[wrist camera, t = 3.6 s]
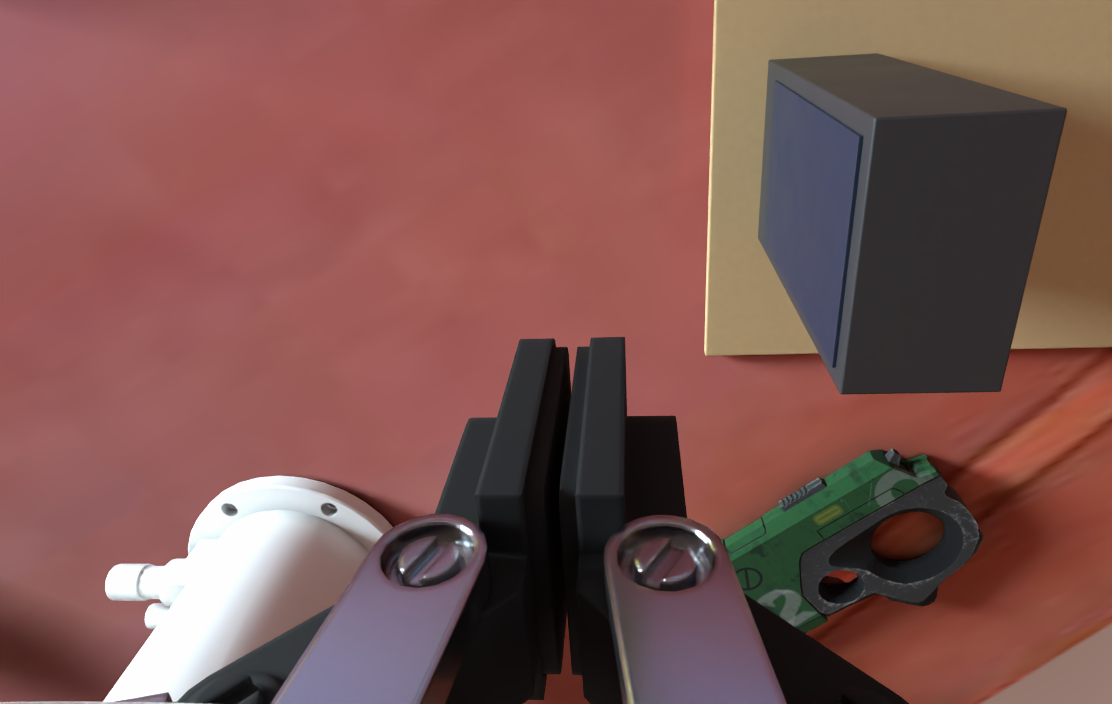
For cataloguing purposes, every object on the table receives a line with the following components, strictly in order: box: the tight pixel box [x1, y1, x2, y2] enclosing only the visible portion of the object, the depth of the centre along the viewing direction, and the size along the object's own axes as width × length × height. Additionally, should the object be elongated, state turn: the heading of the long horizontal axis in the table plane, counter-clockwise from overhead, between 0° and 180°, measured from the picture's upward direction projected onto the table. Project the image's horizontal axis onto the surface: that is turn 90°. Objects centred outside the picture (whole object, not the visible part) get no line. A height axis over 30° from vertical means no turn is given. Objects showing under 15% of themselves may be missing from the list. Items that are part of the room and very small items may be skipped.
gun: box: [721, 449, 984, 633], centre depth 38 cm, size 16×2×10 cm
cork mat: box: [704, 0, 1112, 356], centre depth 29 cm, size 20×18×1 cm
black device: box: [758, 53, 1067, 394], centre depth 23 cm, size 4×7×13 cm, turn 4°
